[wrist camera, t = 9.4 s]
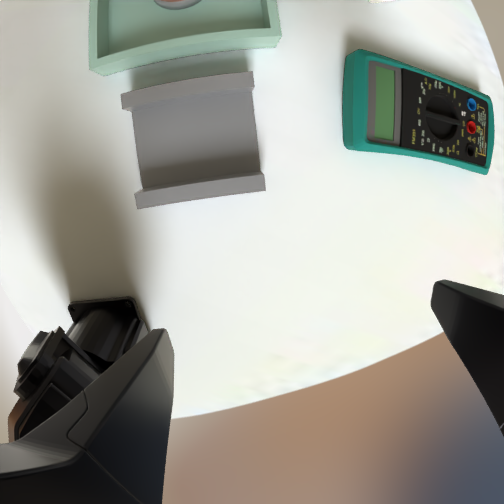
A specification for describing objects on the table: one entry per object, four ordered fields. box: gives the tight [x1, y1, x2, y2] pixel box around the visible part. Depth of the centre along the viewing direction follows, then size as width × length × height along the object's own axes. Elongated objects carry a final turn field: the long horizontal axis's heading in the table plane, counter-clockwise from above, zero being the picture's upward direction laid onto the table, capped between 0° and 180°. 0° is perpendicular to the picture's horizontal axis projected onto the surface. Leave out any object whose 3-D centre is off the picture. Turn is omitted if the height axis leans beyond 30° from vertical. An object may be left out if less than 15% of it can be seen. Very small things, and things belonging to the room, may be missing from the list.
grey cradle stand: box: [121, 71, 266, 209], centre depth 18 cm, size 8×7×2 cm
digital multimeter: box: [342, 49, 495, 175], centre depth 18 cm, size 7×15×3 cm, turn 88°
